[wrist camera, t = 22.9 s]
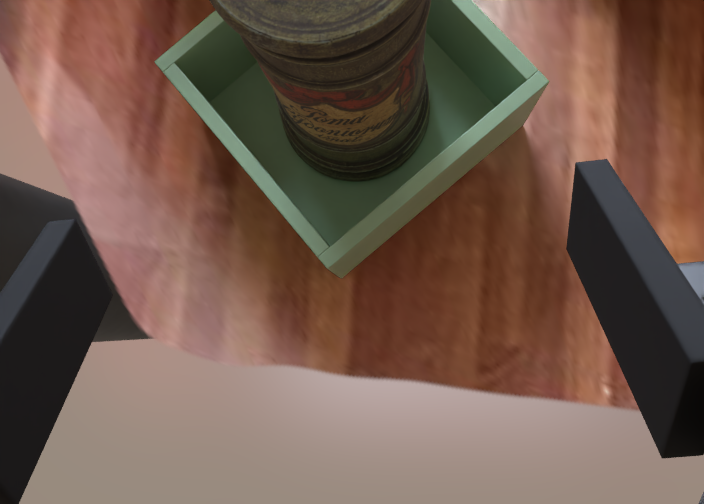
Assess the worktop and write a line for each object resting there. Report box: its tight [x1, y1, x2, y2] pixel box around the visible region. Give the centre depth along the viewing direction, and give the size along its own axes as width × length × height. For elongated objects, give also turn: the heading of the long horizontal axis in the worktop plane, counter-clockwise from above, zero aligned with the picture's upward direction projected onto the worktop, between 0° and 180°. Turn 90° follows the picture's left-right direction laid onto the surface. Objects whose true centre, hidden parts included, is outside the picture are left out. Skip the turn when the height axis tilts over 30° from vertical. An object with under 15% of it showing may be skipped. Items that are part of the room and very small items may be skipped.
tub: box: [155, 0, 549, 278], centre depth 35 cm, size 15×15×7 cm
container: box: [210, 0, 431, 182], centre depth 29 cm, size 9×9×18 cm
